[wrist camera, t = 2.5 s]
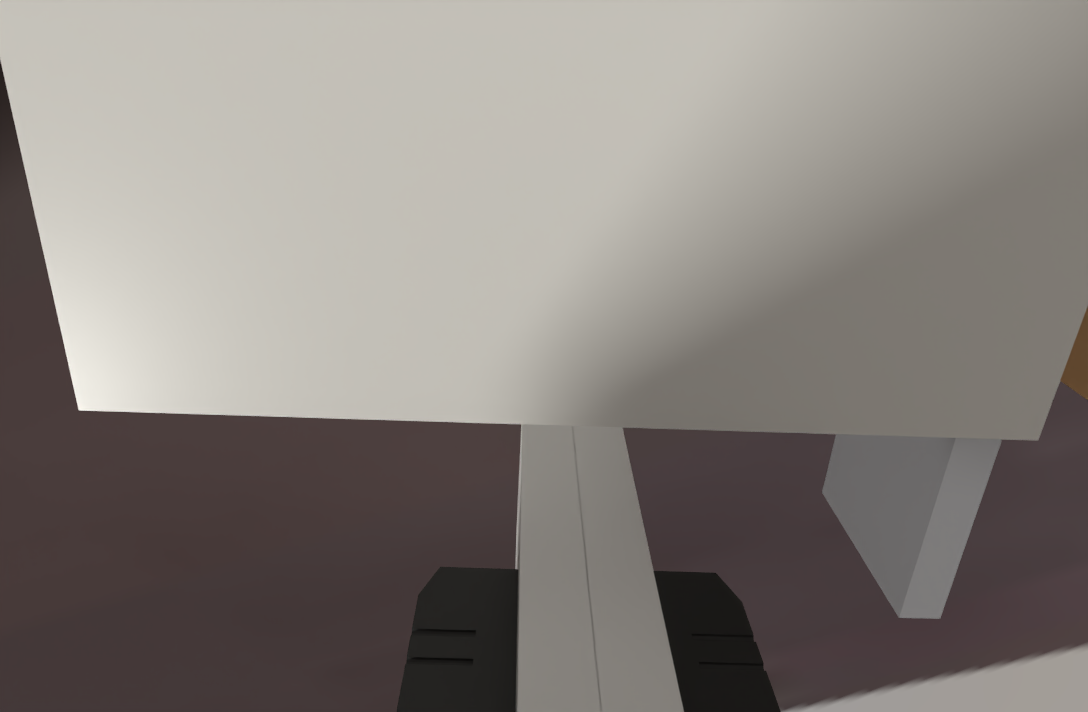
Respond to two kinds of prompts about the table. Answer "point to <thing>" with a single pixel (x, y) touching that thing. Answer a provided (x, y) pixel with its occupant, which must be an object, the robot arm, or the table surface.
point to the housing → (563, 208)
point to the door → (919, 501)
